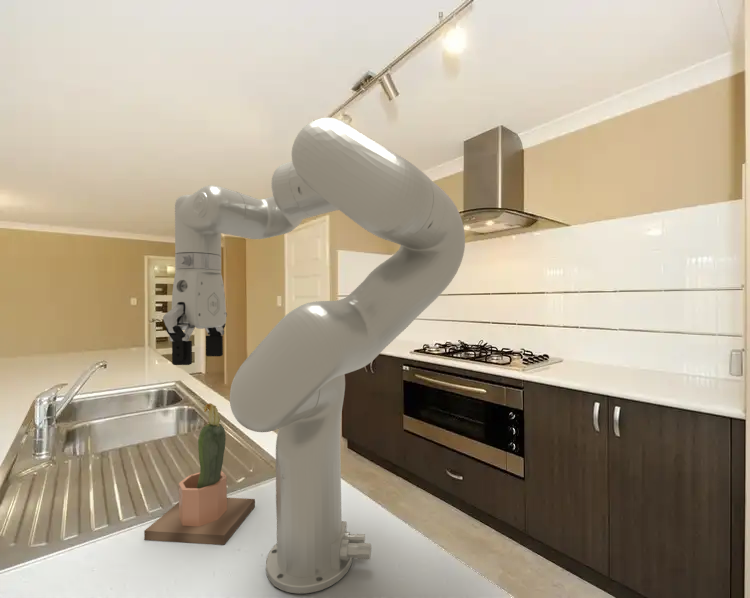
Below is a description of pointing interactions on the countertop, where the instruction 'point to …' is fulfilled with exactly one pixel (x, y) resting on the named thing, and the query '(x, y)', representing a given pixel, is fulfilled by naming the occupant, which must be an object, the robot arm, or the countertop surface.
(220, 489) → the cup
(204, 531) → the stand
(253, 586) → the countertop surface
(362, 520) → the countertop surface
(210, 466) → the vegetable
